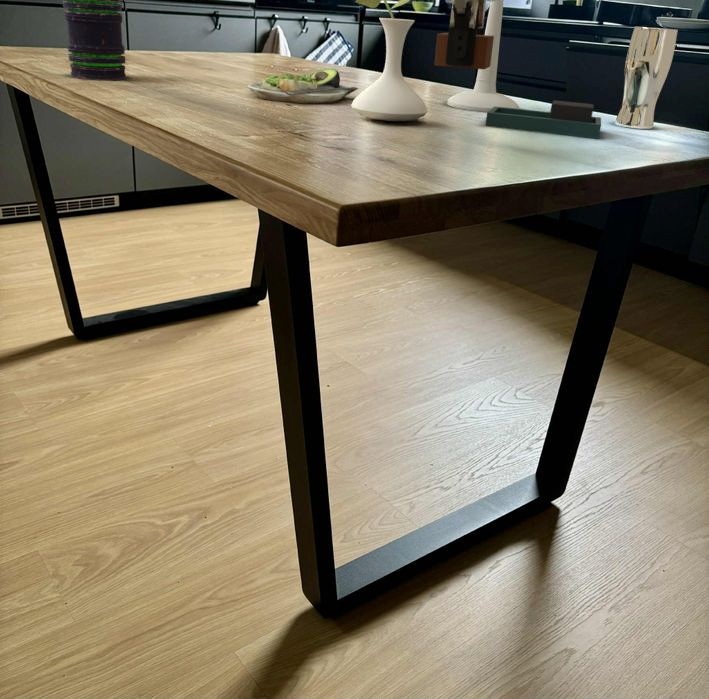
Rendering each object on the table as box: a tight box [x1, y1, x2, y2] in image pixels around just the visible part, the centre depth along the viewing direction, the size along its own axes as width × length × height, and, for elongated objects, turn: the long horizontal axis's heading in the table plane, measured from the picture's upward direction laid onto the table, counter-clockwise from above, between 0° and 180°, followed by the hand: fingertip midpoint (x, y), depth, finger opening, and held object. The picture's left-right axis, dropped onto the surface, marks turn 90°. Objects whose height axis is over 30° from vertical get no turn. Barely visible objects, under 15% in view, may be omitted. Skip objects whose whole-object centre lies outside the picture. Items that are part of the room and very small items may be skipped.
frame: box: [484, 106, 602, 140], centre depth 110 cm, size 17×9×2 cm, turn 73°
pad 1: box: [434, 32, 494, 70], centre depth 86 cm, size 6×5×4 cm
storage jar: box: [62, 0, 127, 81], centre depth 129 cm, size 10×10×15 cm
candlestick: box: [446, 0, 520, 113], centre depth 123 cm, size 13×13×30 cm
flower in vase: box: [351, 0, 428, 122], centre depth 102 cm, size 13×11×25 cm
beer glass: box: [614, 26, 679, 130], centre depth 117 cm, size 7×7×15 cm
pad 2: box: [549, 99, 595, 123], centre depth 108 cm, size 6×5×4 cm
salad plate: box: [247, 68, 359, 104], centre depth 123 cm, size 19×18×5 cm
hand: (463, 62), depth 87 cm, fingers closed on pad 1, 5 cm apart
